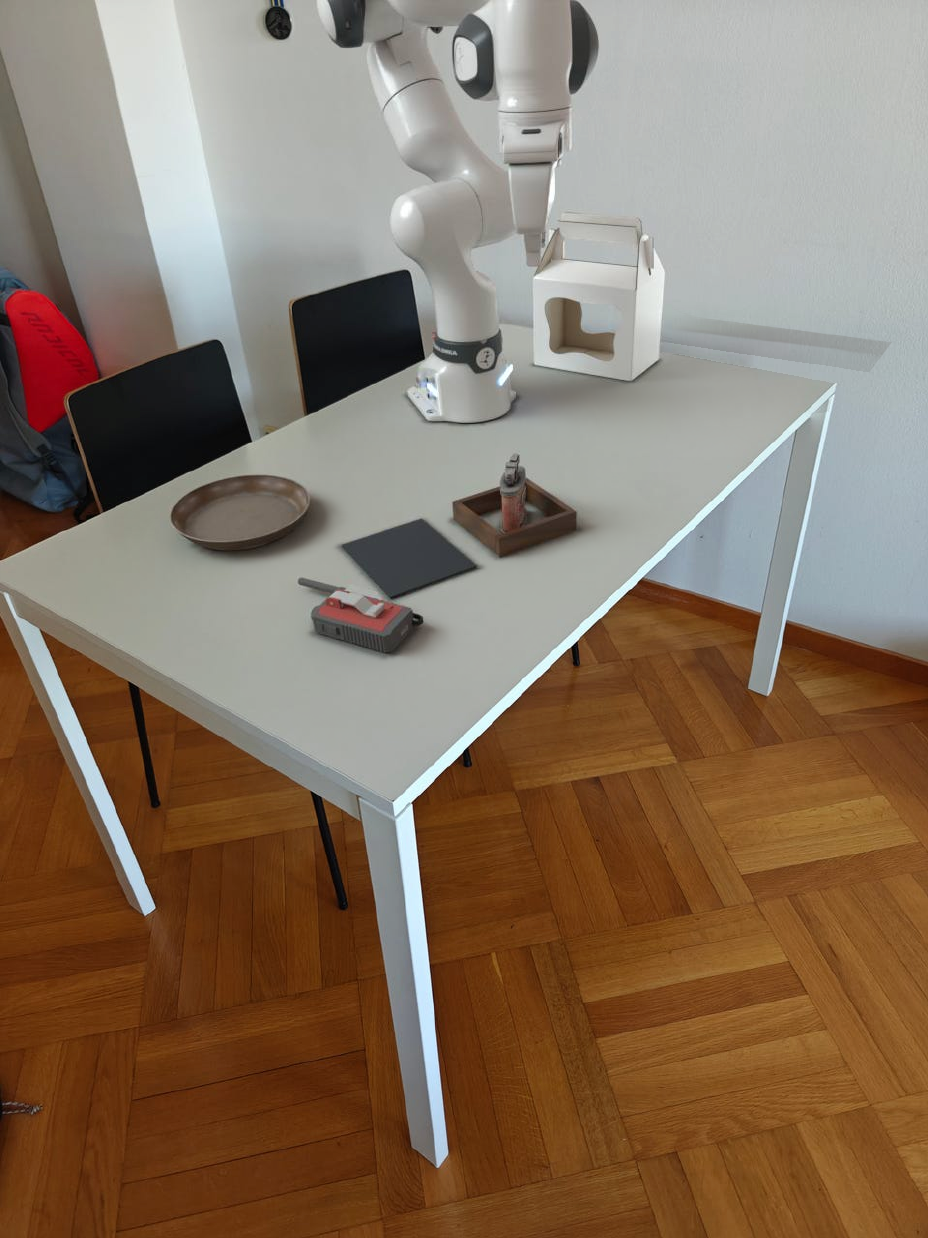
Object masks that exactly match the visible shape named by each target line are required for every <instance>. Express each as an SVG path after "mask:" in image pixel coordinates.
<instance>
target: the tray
mask: <svg viewBox="0 0 928 1238" xmlns="http://www.w3.org/2000/svg"><path fill="white" fill-rule="evenodd" d="M524 486H526V497H525V501H527V502H528V503H529V504H531V505H532V506H534V507H535V508H536V509H538V510H539V511H541V512H542V513H544V514H545V515H546V516H547V517H545V518H542V519H540V520H536V521H534V522H531V523H528V524H526V525H525V526H522V527H520V528H517V529H514V530H511V531H508V532H505V533H502V532H500V531H499V530H497V529H496V528H495V527H493V526H492V525H491V524H490V523H488V522H487V521H485V519H483V518H482V517H481V516H480V515H483V514H485V513H489V512H491V511H494V510H498V509H502V495H501V494H500V485H499V486H497V487H494V488H493V487H492V488H491V489H487V490H484V491H481V492H478V493H475V494H472V495H469V496H465V497H462V498H460V499H457V500H454V501H452V502H451V503H452V517H453V521H454V522H456V523H457V524H458V525H459V526H461V527H462V528H463V529H464V530H466V531H467V532H468V533H469V534H471V536H473V537H474V538H475V539H476V540H478V541H479V542H480V543H481V544H483V545H484V546H485V547H486V548H487V549H489V550H490V551H491V552H492V553H494V554H495V555H496V556H497V557H499V558H502V557H504V556H507V555H510V554H513V553H515V552H518V551H521V550H525V549H527V548H530V547H533V546H535V545H538V544H541V543H544V542H546V541H549V540H551V539H554V538H557V537H560V536H562V535H566V534H568V533H571V532H574V531H576V530H577V523H578V521H577V520H578V519H577V518H578V514H577V513H578V511H577V510H575V509H574V508H573V507H571V506H569V505H568V504H567V503H565V502H564V501H562V500H560V499H559V498H558V497H556V496H554V495H553V494H551V493H550V492H549V491H547V490H546V489H545V488H543V487H541V486H540V485H538V484H537V483H536V482H534V481H533V480H531V479H530V478H528V477H526V479H525V484H524Z"/></svg>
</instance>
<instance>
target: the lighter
mask: <svg viewBox="0 0 928 1238" xmlns="http://www.w3.org/2000/svg"><path fill="white" fill-rule="evenodd" d="M520 462H521V460H520V454H519V453H515V452H514V453H512V454H511V455H510V458H509V461H506V463H505V468H504V471H503V473H502V475H501V477H500V480H499V486H500V494H501V495H502V507H501V513H502V515H501V516H502V518H501V526H500V527H501V534H502V533H505V532H508V531H511V530H514V529H517V528H520V527H522V526H525V525H527V509H526V503H525V502H526V500H525V497H526V486H524V484H525V479H526V478H527V477H526V475H527V474H526V468H525V467H524V466H521V465H520Z"/></svg>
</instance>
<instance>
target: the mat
mask: <svg viewBox="0 0 928 1238" xmlns="http://www.w3.org/2000/svg"><path fill="white" fill-rule="evenodd" d="M341 548H342V549H343V550H344V551H345V552H346V553H347V554H348V555H349V557H351V558H352V559H353V561H355V563H356V564H357V565H358V566H359V567H360V568H361V570H363V571H364V573H366V574H367V575H368V576H369V578H371V580H372V581H373V582H374V583H375V584H376V585H377V586H378V587H379V588H380V589H381V591H383V592H384V594H385V595H386V596H387V597H388V598H389V599H390V600H392V599H395V598H398V597H400V596H403V595H407V594H409V593H412V592H414V591H417V590H421V589H422V588H426V587H428V586H432V585H434V584H436V583H439V582H443V581H445V580H447V579H450V578H453V577H456V576H458V575H462V574H464V573H467V572H470V571H472V570H476V569H477V565H476V564H475V563H474V562H473V561H471V559H469V558H468V557H467V556H466V555H465V554H463V553H462V551H460V550H459V549H458V548H457V547H455V546H454V545H453V544H452V543H451V542H450V541H448V540H447V539H446V538H445V537H443V536H442V535H441V534H440V533H439V532H438V531H437V530H436V529H434V528H433V527H432V526H431V525H430V524H429V523H427V522H426V521H425V520H424V519H423V518H419V519H416V520H413V521H409V522H406V523H403V524H400V525H397V526H395V527H392V528H391V527H390V528H388V529H385V530H382V531H379V532H376V533H373V534H370V535H367V536H364V537H361V538H358V539H355V540H352V541H349V542H345V543H342V544H341Z"/></svg>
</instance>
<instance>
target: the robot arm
mask: <svg viewBox="0 0 928 1238" xmlns="http://www.w3.org/2000/svg"><path fill="white" fill-rule="evenodd" d="M316 8H317V14H318V16H319V21H320V22H321V25H322V26H323V28H324V30H325V32H326V33H327V35H328V37H329V39H330V40H331V41H332V42H333V44H335V45H336V46H338V47H339V48H341V49H353V48H354V49H355V48H360V47H362V46H363V45H364V44H369V46H368V47H367V52H366V64H367V69H368V73H369V77H370V82H371V85H372V88H373V92H374V95H375V98H376V101H377V104H378V107H379V110H380V112H381V114H382V117H383V119H384V122H385V125H386V126H387V128H388V131H389V134H390V136H391V139H392V140H393V143H394V146H395V148H396V151H397V153H398V155H399V156H400V159H401V160H402V162H403V163H404V164H405V165H406V166H407V167H408V168H410V169H411V170H413V171H416V172H418V173H420V174H423V175H424V176H426V177H427V178H429V179H431V181H432V182H431V183H427V184H422V185H419V186H417V187H415V188H413V189H410V190H409V191H407V192H405V193H403V194H401V195H399V196H398V197H397V198H396V199H395V201H394V202H393V205H392V207H391V210H390V215H389V227H390V228H389V229H390V233H391V236H392V239H393V241H394V243H395V245H396V246H397V248H398V249H399V251H400V252H401V253H402V254H404V256H406V257H408V259H411V260H412V261H413V262H415V263H416V264H417V265H418V267H419V268H420V269H421V270H422V272H423V273H424V275H425V278H426V279H427V282H428V283H429V286H430V290H431V294H432V300H433V309H434V317H435V325H436V326H435V327H436V331H433V332H431V334H432V335H434V336H431V339H433V342H432V345H433V346H432V352H431V354H429V355H428V356H427V357H426V358H425V359H424V360H423V361H422V362H420V364H419V366H418V368H417V375H416V376H415V383H416V384H415V385H413V386H411V387H410V388H408V389H407V392H406V395H407V397H408V398H409V399H410V400H411V402H412V403H413V404H414V406H415V407H416V408H417V409H418V411H419V412H420V413H421V415H422V416H423V417H424V418H425V419H426V421H428V422H450V423H459V424H460V423H463V424H471V423H480V422H486V421H490V420H495V419H497V418H500V417H502V416H504V415H505V414H506V413H508V412H509V411H510V409H511V407H512V402H513V401H514V400H515V399H516V398H517V394H516V393H517V392H516V391H515V390H513V389H511V381H510V374H511V373H512V372H513V369H514V368H513V367H514V366H513V364H510V365H509V363H508V357H507V356H506V355H505V354H503V343H504V341H503V336H502V335H503V334H502V329H500V323H499V321H500V320H499V318H500V316H499V291H498V288H497V286H496V283H495V282H494V281H493V279H491V278H490V276H488V275H486V274H484V273H482V272H480V271H478V270H476V269H475V266H474V263H473V259H472V250H475V249H479V248H482V247H486V246H491V245H494V244H497V243H498V244H499V243H502V242H503V241H505V240H507V239H508V238H511V237H512V236H514V235H516V234H517V235H523V242H524V249H525V257H526V259H525V260H526V266H528V267H529V268H530V267H531V268H532V267H535V268H537V267H538V266H539V265H540V264H541V259H542V249H543V248H545V247H546V245H547V227H548V222H549V219H550V216H551V212H552V208H553V205H554V201H555V197H556V196H555V195H556V193H555V192H556V184H555V183H556V181H555V180H556V179H555V177H556V175H555V173H556V172H555V169H556V168H558V167H560V166H562V156H564V154H565V153H567V152H569V151H571V150H572V145H573V144H572V143H573V141H572V139H573V138H572V137H573V132H572V131H573V128H572V127H573V101H572V95H575V94H576V93H578V92H579V90H580V89H581V88H582V87H583V86H584V84H586V82H587V80H589V77H591V74H592V72H593V70H594V68H595V67H596V64H597V61H598V56H599V51H600V49H599V47H600V43H599V35H598V34H599V33H598V30H597V28H596V24H595V23H594V21H593V19H592V17H591V15H590V14H589V12H588V11H587V10H586V8H585V7H584V6H583V5H582V4H581V3H580V1H578V0H316ZM444 27H457V28H456V31H455V33H454V34H453V37H452V44H451V57H452V58H451V60H452V69H453V74H454V78H455V81H456V83H457V84H458V85H459V87H460V88H461V90H462V91H464V93H465V94H466V95H467V96H468V97H469V98H471V99H472V100H478V101H482V102H493V101H498V105H497V125H498V152H499V155H501V156H502V157H501V159H502V163H503V164H504V165H507V170H505V169H504V168H502V167H501V166H499V165H498V164H497V163H495V162H494V161H493V160H492V159H491V158H489V156H487V155H486V154H485V153H484V152H483V151H482V149H481V148H479V146H478V145H477V144H476V142H474V140H473V138H471V136H470V135H469V134H468V132H467V130H466V128H465V127H464V125H463V123H462V121H461V119H460V117H459V115H458V112H457V110H456V108H455V106H454V103H453V101H452V98H451V97H450V94H449V91H448V89H447V88H446V85H445V82H444V80H443V78H442V76H441V74H440V71H439V69H438V68H437V65H436V63H435V61H434V59H433V57H432V54H431V52H430V49H429V45H428V30H429V29H430V31H431V32H432V33H434V34H436V35H438V34H441V32H442V31H443V29H444Z"/></svg>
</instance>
